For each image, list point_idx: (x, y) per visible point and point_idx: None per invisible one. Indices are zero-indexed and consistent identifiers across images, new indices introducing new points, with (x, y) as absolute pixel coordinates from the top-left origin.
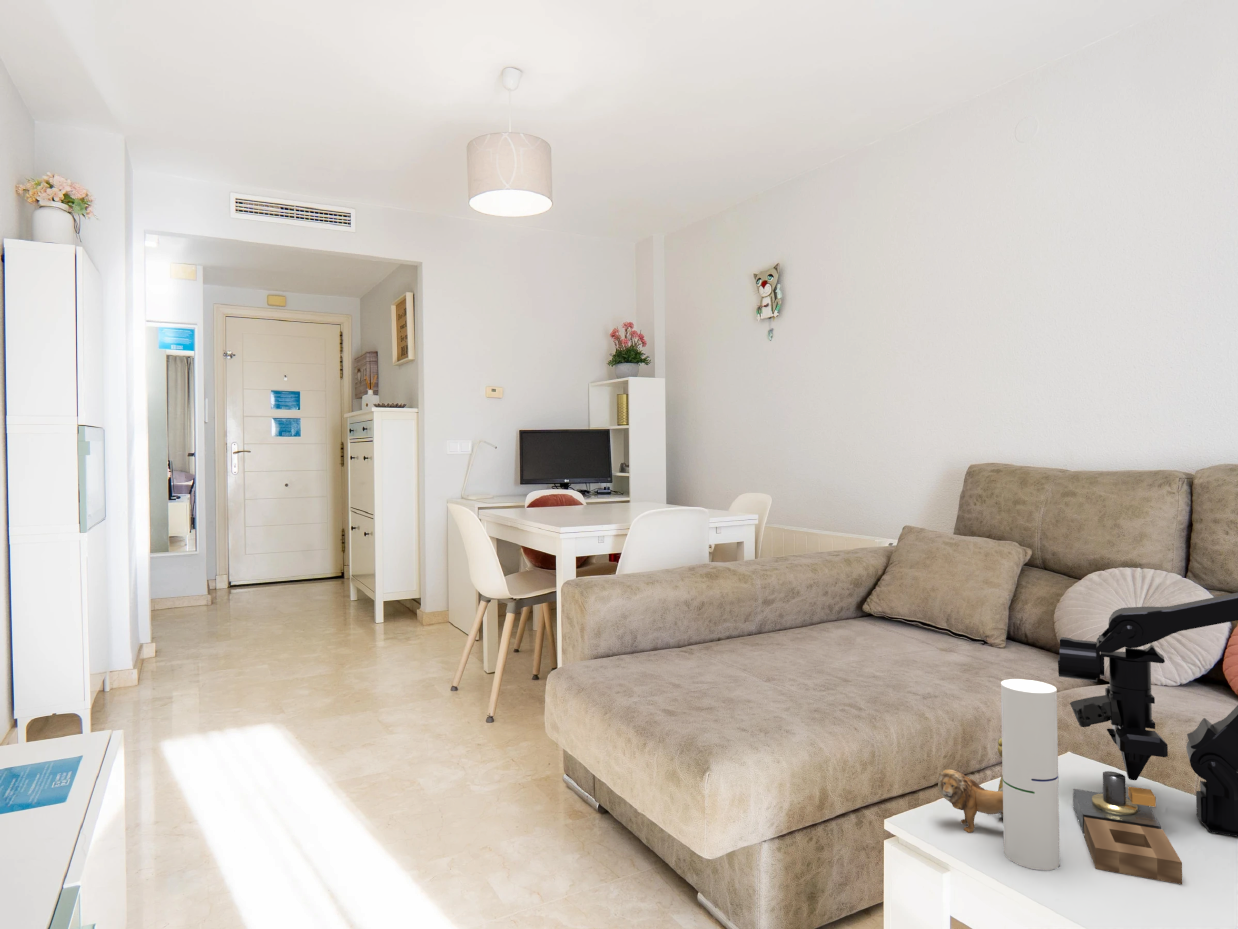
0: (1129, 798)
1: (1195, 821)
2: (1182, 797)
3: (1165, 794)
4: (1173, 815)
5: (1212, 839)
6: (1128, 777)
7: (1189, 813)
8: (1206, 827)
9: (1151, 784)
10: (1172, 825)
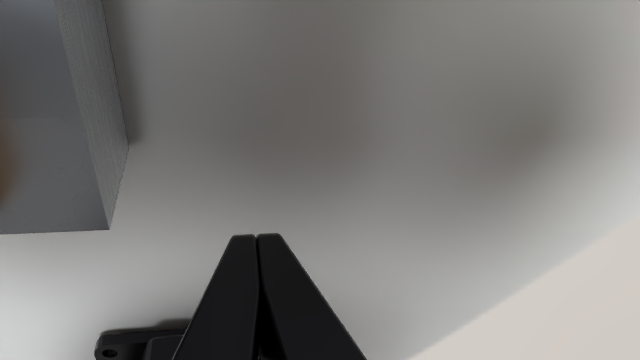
0: (51, 144)
1: None
2: (466, 299)
3: (490, 259)
4: None
5: (33, 332)
6: (228, 245)
7: None
8: (131, 337)
9: (601, 230)
10: (102, 239)
